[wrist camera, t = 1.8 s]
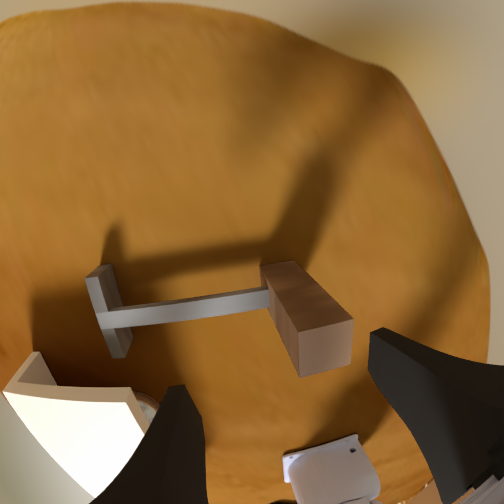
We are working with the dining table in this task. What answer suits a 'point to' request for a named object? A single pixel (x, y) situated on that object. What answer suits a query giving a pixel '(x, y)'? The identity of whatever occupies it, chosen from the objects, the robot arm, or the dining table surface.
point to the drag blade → (268, 296)
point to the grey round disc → (147, 405)
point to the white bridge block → (78, 423)
